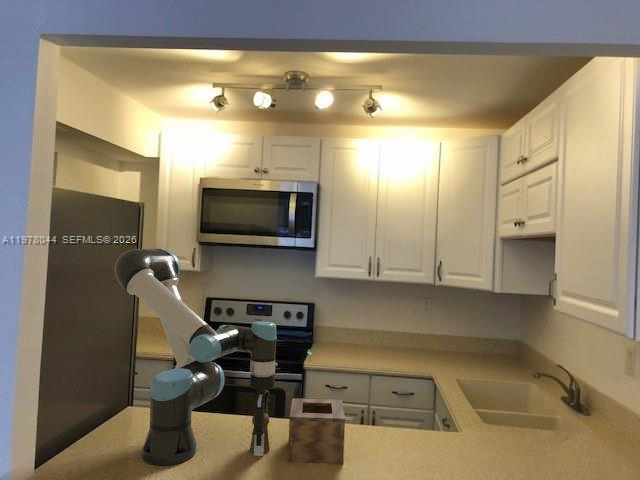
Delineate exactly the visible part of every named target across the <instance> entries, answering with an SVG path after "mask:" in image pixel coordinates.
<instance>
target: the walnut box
mask: <svg viewBox="0 0 640 480" xmlns="http://www.w3.org/2000/svg"><path fill="white" fill-rule="evenodd" d="M343 403H344V402H343V399H329V398H326V399H325V398H323V399H322V398H297V397H296V398H292V400H291V406H290V411H289V422H288V424H289V425H288V447H287V448H288V449H287V451H288V453H287V463H297V464H299V463H300V464H302V463H303V464H304V463H305V464H329V465H330V464H331V465H332V464H333V465H344V462H345V461H344V460H345V459H344V456H345V455H344V454H345V453H344V452H345V431H346V430H345V427H346V418H345V410H344V406H343Z"/></svg>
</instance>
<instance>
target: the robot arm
mask: <svg viewBox="0 0 640 480" xmlns="http://www.w3.org/2000/svg"><path fill="white" fill-rule="evenodd" d="M180 263H181V262H180V260H179V259H178V257H177V256H176V254H175V253H173V252H172V251H170V250H168V249H162V248H150V249H149V248H148V249H147V248H143V249H142V248H132V249H128V250H126V251H124V252H122V253H121V254H120V255H119V256H118V258H117V259H116V261H115V264H114V275H115V279H116V280H117V282H118V284H119V285H120V286H121V288H122V289H124V290H125V291H126V292H127V293H128V294H129V295H132V296H136V297H137V298H139V300H140V301H142V302H143V304H145V305H146V306H147V307H148V308H149V309H151V310H152V311H153V312H154V313H155V314H156V315H157V316H158V317H159V320H160V322H161V325H162V328H163V330H164V333H165V336H166V338H167V341H168V343H169V346H170V348H171V351H172V354H173V356H174V360H175V362H176V365H175V367H174V368H172V369H166V370H163V371H161V372H159V373H158V374H156V375H155V376H154V377H153V379H152V380H151V387H150V392H149V394H150V400H149V401H150V406H149V430H148V432H147V434H146V438H145V440H144V443H143V444H142V445H143V446H142V449H141V450H142V451H141V458H142V460H143V461H144V462H146V463H148V464H149V465H150V464H151V465H153V466H171V465H177V464H180V463H181V464H182V463H185V462H186V461H188V460H190V459H191V458H193V457H194V456H195V455H196V454H197V441H196V438H195V437H196V436H195V434H194V431H193V430H194V429H193V426H192V412H193V410H194V409H196V408H198V407H200V406H202V405H204V404H205V403H208V402H210V401H212V400H214V399H215V398H216V397H218V396H219V395H220V393H221V392H222V391H223V389H224V385H225V374H224V370H223V368H222V367H221V366H220V364H217V363H216V362H213V361H215V360H217V359H218V358H221V357H223V356H226V355H229V354H232V353H234V352H240V353H242V352H243V353H250V365H249V367H250V368H249V372H250V373H251V374H250V376H249V386H250V388H252V389H253V390H256V392H255V394H254V414H255V422H254V425H253V428H254V432H253V431H252V433H251V434H254V435H255V438H254V454H253V456H254V457H264V454H263V452H264V416H265V413H266V414H268V408H269V405H268V404H269V397H270V391H269V390H271V389H273V388H274V387H275V384H276V375H275V373H276V367H278V362H276V355H277V354H276V351H277V339H278V338H277V325H276V324H275V323H274V322H272V321H255V322H253V323H252V324H251V327H248V326H246V327H245V326H238V325H233V324H229V325H228V324H222V325H220V326H219V327H218V328H217V329H216V330H215V329H213V328H212V326H210V325H209V324H208V323H207V322H206V321H204V320H203V319H202V318H201V317H200V316H199V315H198V314H197V313H195V312H194V311H193V310H192V309H191V308H190V307H189V306H188V305H187V304H186V303H184V301H183V300H182V296H181V294H180V292H179V289H178V284H179V282H180V279H179V275H180V273H181V272H180V270H181V264H180ZM268 415H269V414H268Z"/></svg>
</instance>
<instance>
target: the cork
mask: <svg viewBox="0 0 640 480" xmlns="http://www.w3.org/2000/svg"><path fill="white" fill-rule="evenodd" d="M254 422H255V413H254V414H253V416H252V419H251V423H252V425H253V426H254ZM269 423H270V416H269V414H266V413H265V416H264V452H263V455H265V454H268V453H270V439H269V429H268V425H269ZM252 432H254V427H253V429H252ZM251 434H252V433H251ZM254 438H255V435H254V434H252V436H251V441H250V446H249V453H251V454H252V455H254Z"/></svg>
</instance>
